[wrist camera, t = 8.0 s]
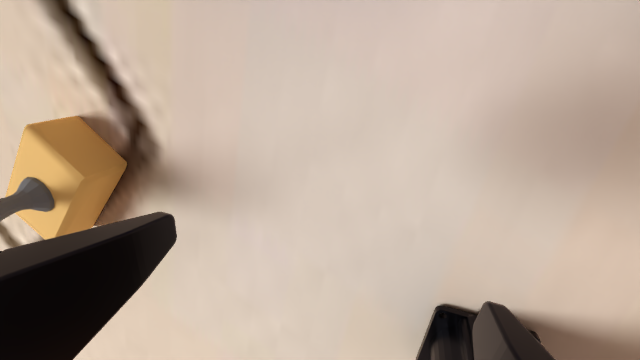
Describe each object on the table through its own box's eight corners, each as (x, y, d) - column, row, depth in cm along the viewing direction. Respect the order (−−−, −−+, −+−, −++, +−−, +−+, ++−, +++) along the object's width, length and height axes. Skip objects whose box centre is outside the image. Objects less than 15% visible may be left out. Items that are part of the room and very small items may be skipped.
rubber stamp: (94, 226, 28) (-94, 329, 18) (48, 185, 28) (-175, 265, 17) (130, 164, 24) (-96, 252, 13) (76, 113, 23) (-206, 161, 13)
